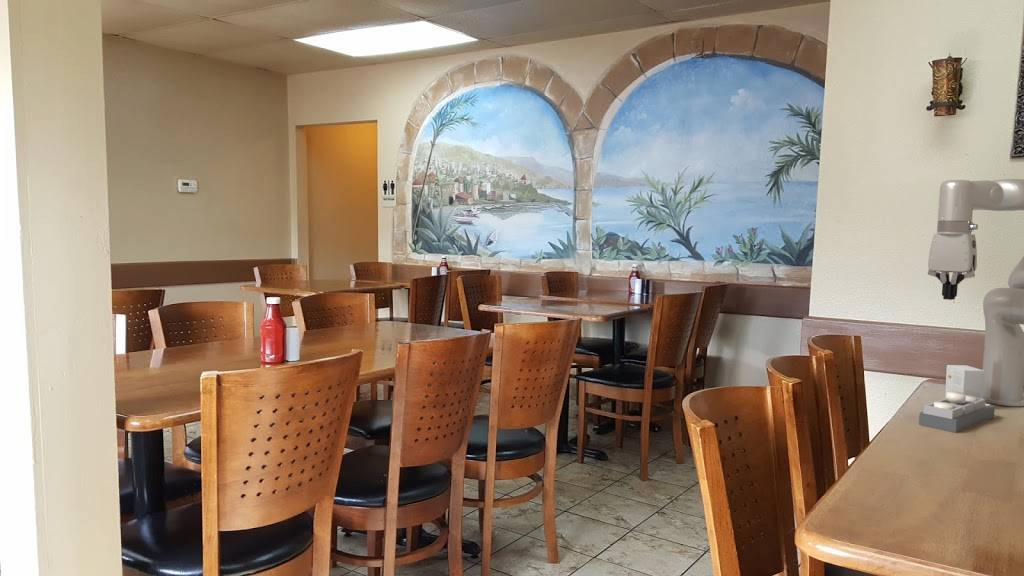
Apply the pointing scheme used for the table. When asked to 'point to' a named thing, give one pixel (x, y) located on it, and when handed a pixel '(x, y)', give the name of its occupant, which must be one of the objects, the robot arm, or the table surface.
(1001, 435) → the table surface
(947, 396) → the button middle
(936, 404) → the button
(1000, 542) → the table surface
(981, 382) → the small box
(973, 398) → the button
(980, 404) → the button board
